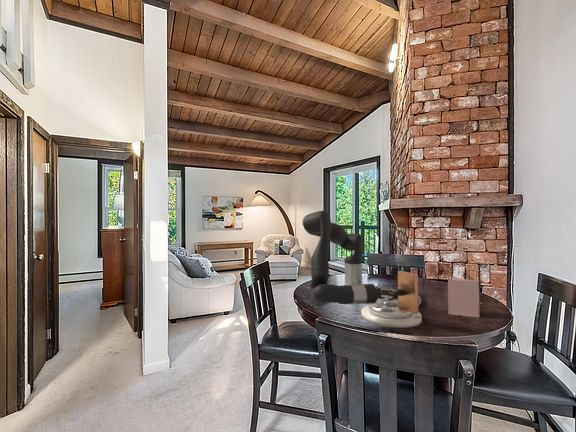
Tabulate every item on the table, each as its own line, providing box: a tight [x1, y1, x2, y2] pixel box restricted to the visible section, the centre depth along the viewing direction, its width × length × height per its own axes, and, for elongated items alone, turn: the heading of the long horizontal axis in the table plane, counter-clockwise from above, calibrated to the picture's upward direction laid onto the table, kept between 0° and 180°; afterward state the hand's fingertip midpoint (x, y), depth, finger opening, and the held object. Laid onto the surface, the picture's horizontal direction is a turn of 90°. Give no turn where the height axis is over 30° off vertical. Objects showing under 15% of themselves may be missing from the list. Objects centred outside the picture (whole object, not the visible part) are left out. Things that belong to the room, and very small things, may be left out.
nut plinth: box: [360, 305, 423, 329], centre depth 125 cm, size 24×24×2 cm
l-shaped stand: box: [367, 270, 419, 319], centre depth 123 cm, size 22×18×18 cm
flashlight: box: [418, 290, 422, 306], centre depth 148 cm, size 15×5×5 cm, turn 159°
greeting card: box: [447, 276, 480, 319], centre depth 127 cm, size 11×7×15 cm, turn 32°
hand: (404, 292), depth 117 cm, fingers closed
